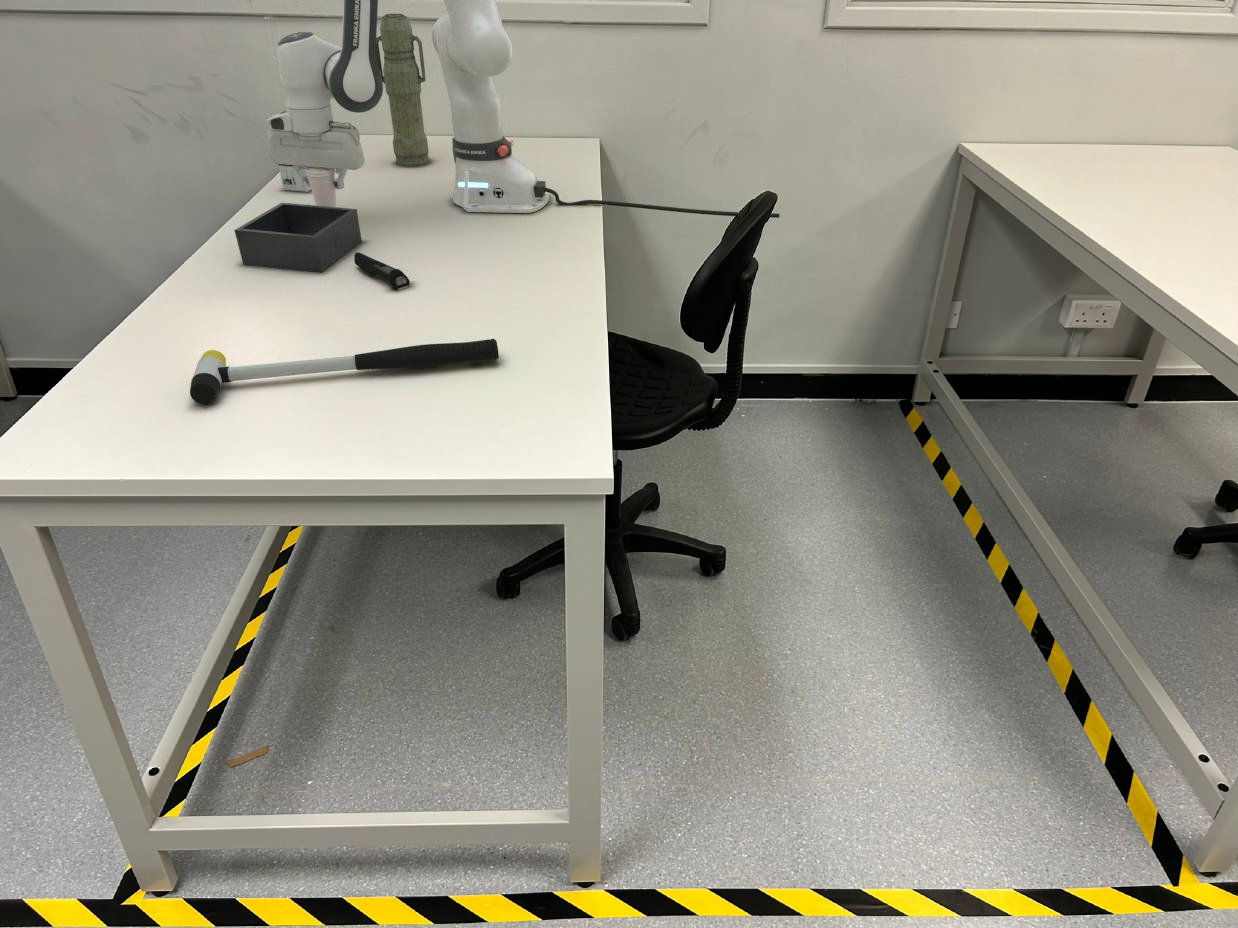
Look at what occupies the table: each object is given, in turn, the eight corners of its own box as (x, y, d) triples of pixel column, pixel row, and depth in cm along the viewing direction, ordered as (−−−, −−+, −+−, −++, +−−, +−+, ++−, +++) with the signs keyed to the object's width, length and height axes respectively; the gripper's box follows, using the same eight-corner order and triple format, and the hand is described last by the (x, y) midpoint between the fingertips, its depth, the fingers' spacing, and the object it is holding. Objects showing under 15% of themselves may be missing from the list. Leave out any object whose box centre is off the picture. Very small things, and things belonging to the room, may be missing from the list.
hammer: (192, 407, 124) (184, 383, 122) (203, 372, 133) (197, 349, 130) (502, 375, 133) (500, 353, 131) (494, 345, 141) (492, 323, 139)
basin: (362, 242, 179) (356, 209, 175) (322, 272, 166) (315, 237, 162) (288, 235, 182) (281, 202, 178) (242, 264, 169) (234, 230, 165)
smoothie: (316, 208, 191) (303, 143, 183) (345, 208, 192) (334, 143, 184) (309, 218, 186) (296, 151, 178) (340, 217, 186) (328, 151, 179)
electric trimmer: (368, 264, 170) (365, 248, 168) (412, 285, 161) (409, 269, 159) (351, 269, 168) (348, 253, 166) (394, 291, 159) (392, 275, 157)
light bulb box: (308, 192, 206) (299, 146, 200) (282, 190, 207) (272, 144, 201) (329, 180, 214) (321, 135, 208) (304, 178, 216) (295, 133, 209)
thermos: (391, 158, 231) (370, 13, 211) (435, 157, 232) (419, 12, 212) (388, 167, 224) (366, 18, 204) (434, 166, 225) (417, 17, 205)
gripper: (364, 120, 179) (374, 186, 186) (275, 113, 182) (288, 179, 190) (349, 127, 173) (360, 195, 181) (258, 120, 177) (273, 187, 185)
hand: (323, 187), depth 186 cm, fingers closed on smoothie, 6 cm apart
